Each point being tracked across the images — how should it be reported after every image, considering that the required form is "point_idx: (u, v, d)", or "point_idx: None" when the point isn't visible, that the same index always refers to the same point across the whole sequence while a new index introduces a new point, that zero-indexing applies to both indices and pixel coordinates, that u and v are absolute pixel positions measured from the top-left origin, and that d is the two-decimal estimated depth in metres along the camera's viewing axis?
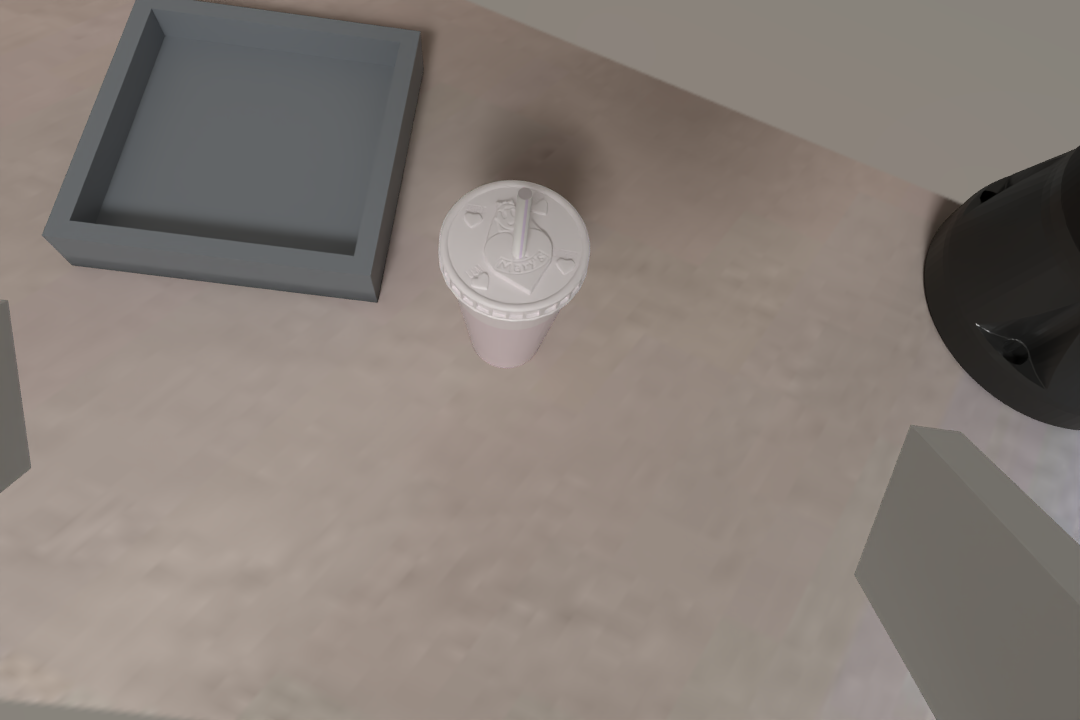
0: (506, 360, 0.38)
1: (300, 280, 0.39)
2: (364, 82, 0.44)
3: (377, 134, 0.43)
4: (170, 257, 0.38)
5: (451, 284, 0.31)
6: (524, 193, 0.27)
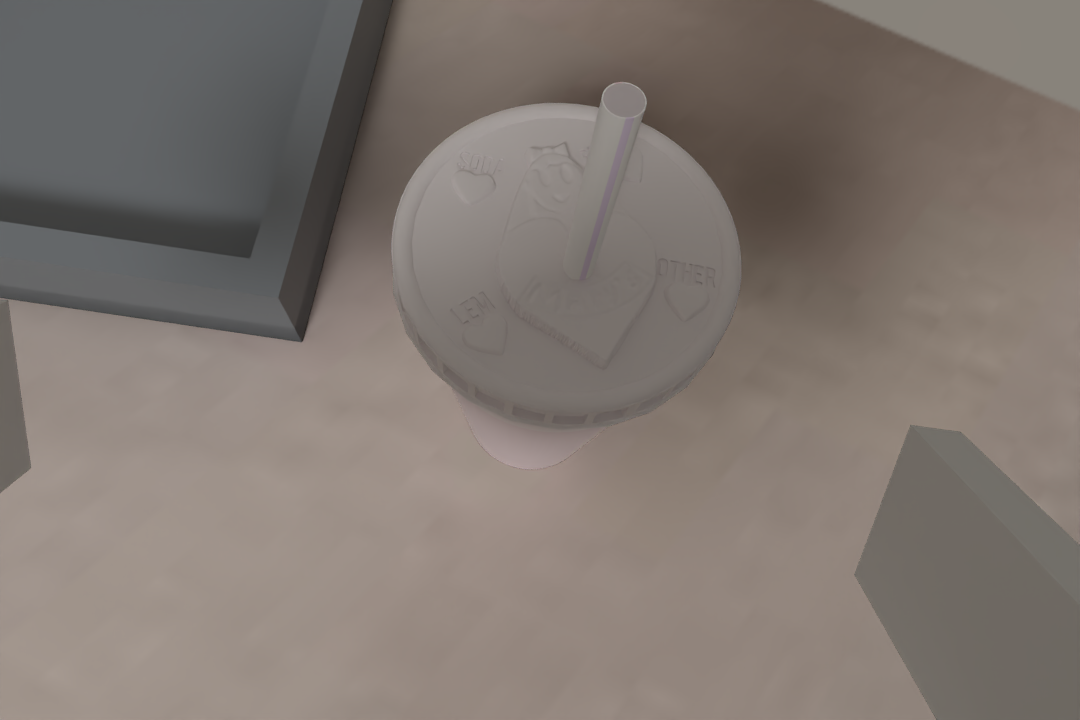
0: (532, 462, 0.20)
1: (154, 300, 0.21)
2: None
3: None
4: None
5: (417, 337, 0.13)
6: (622, 100, 0.09)
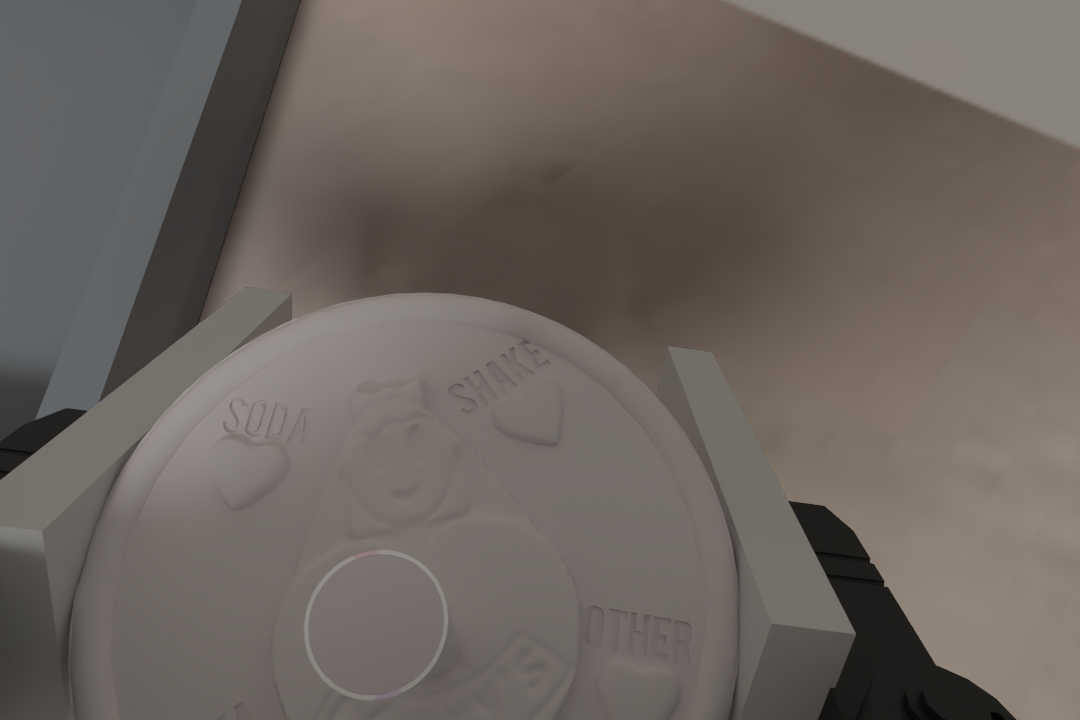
0: None
1: None
2: (161, 11, 0.20)
3: None
4: None
5: None
6: (382, 601, 0.03)
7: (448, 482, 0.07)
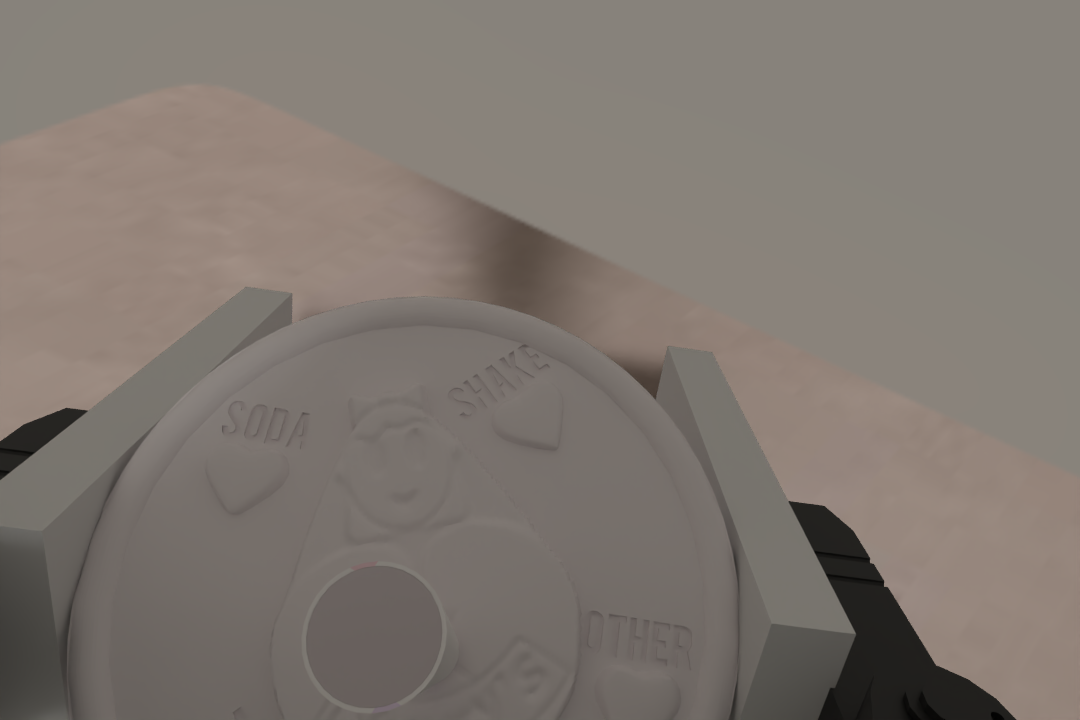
0: None
1: None
2: None
3: None
4: None
5: None
6: (376, 612, 0.03)
7: (447, 487, 0.07)
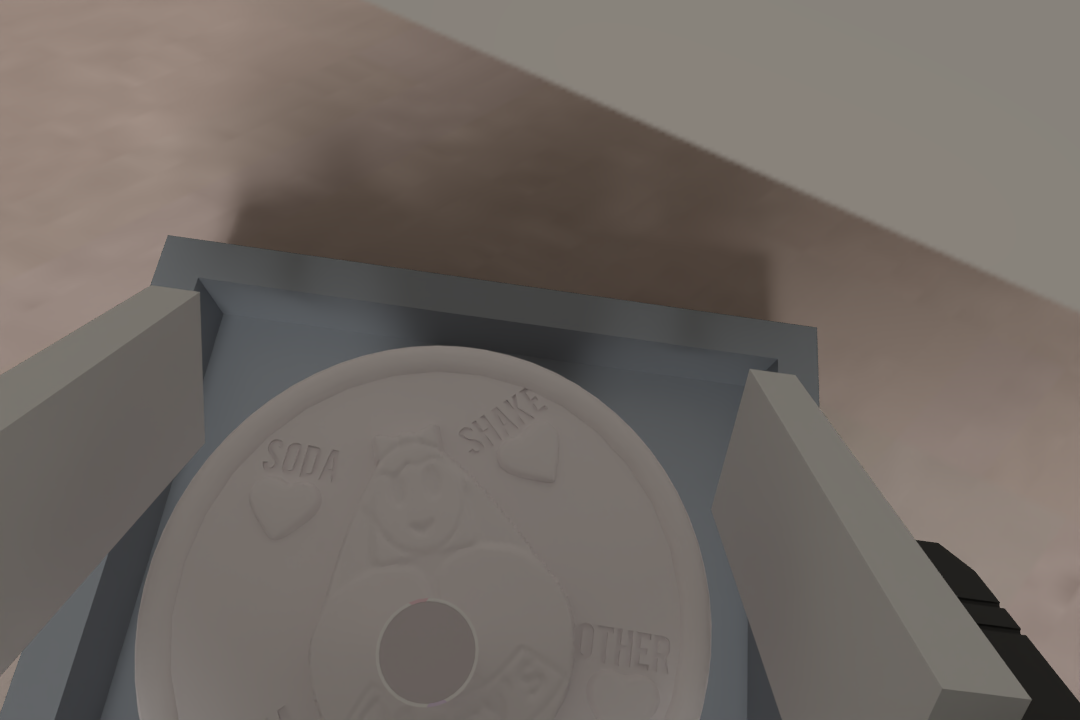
0: None
1: None
2: (673, 428, 0.20)
3: (722, 575, 0.18)
4: None
5: None
6: (427, 635, 0.04)
7: (459, 515, 0.09)
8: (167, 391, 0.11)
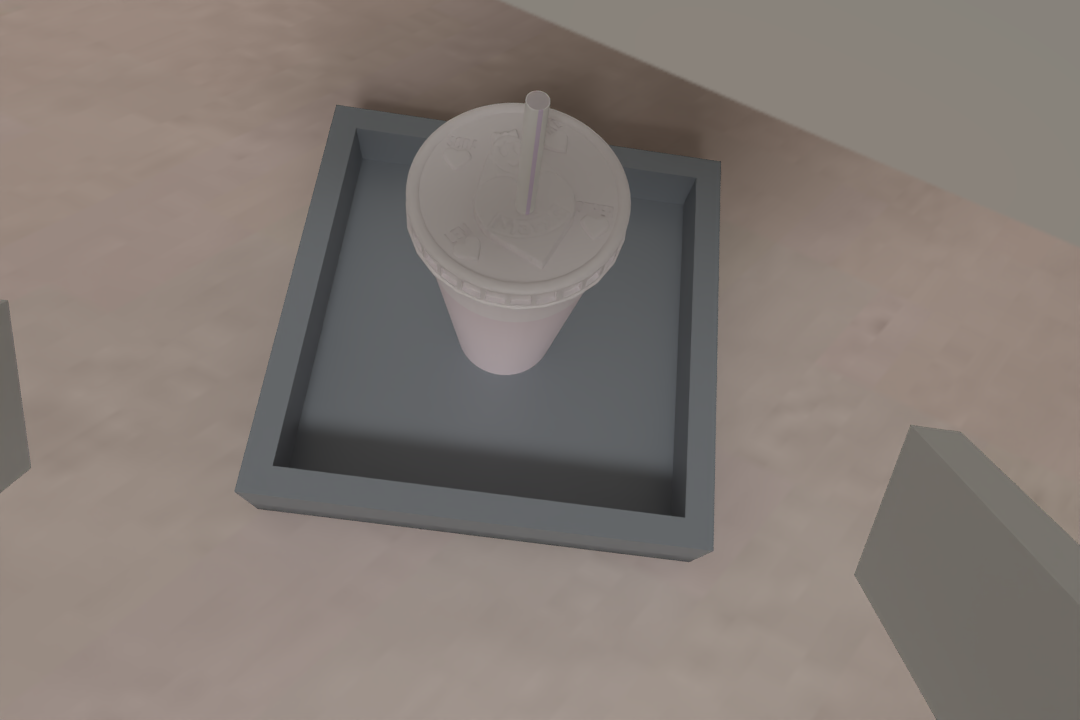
0: (505, 364, 0.28)
1: (595, 543, 0.27)
2: (636, 227, 0.32)
3: (664, 305, 0.31)
4: (416, 517, 0.26)
5: (424, 253, 0.21)
6: (537, 100, 0.17)
7: None
8: None
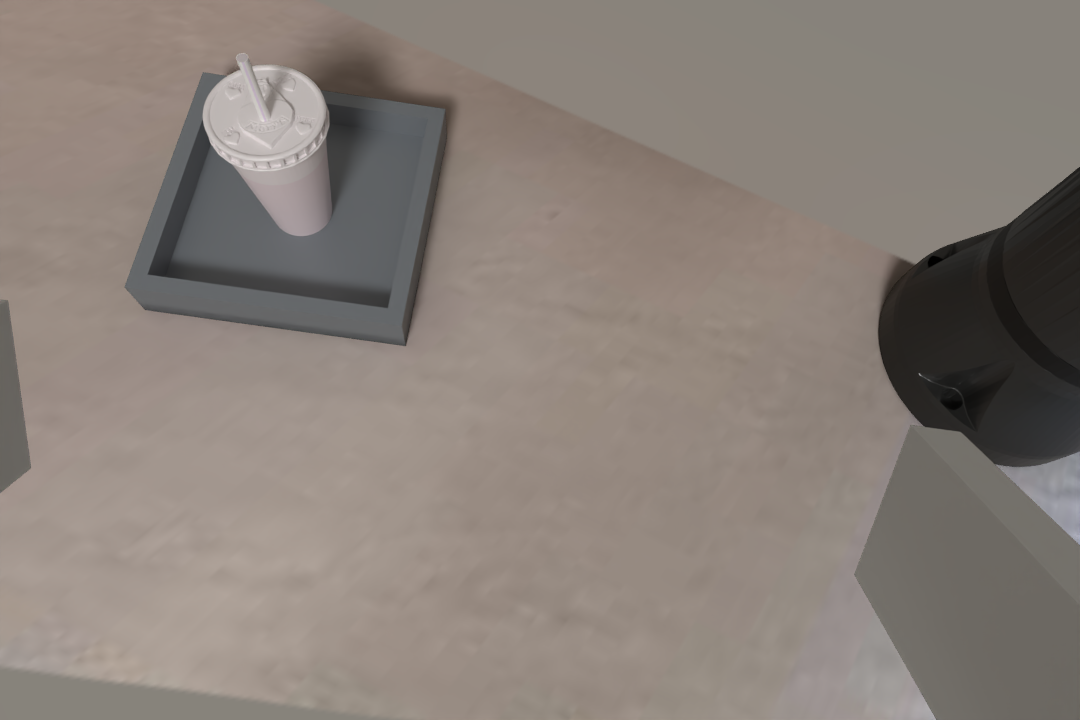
0: (293, 225, 0.46)
1: (340, 327, 0.45)
2: (396, 151, 0.51)
3: (406, 198, 0.50)
4: (231, 307, 0.44)
5: (212, 142, 0.39)
6: (242, 58, 0.35)
7: (270, 94, 0.40)
8: None
